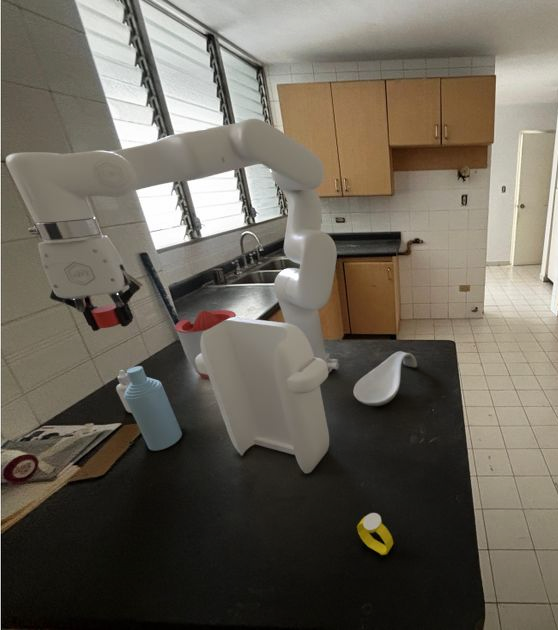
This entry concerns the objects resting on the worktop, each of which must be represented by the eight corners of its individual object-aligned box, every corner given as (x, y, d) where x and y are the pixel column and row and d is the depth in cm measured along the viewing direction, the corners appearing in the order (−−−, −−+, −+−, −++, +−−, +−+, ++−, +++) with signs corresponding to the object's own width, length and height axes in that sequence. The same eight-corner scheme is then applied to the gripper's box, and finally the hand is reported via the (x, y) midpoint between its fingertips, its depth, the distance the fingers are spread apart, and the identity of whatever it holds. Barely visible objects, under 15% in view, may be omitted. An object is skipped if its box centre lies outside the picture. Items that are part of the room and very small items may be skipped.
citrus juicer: (231, 351, 116) (215, 296, 108) (258, 364, 106) (243, 306, 98) (181, 372, 104) (159, 313, 96) (207, 389, 95) (184, 325, 87)
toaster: (355, 442, 74) (336, 317, 62) (326, 483, 64) (297, 345, 52) (257, 418, 82) (224, 305, 70) (219, 452, 72) (173, 327, 61)
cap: (98, 323, 65) (91, 308, 64) (124, 317, 68) (117, 303, 66) (97, 330, 62) (90, 314, 61) (124, 324, 65) (117, 309, 63)
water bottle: (188, 431, 79) (160, 362, 72) (165, 451, 73) (132, 378, 66) (165, 429, 80) (135, 360, 73) (141, 449, 74) (105, 377, 67)
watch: (397, 548, 52) (394, 523, 50) (386, 565, 50) (383, 539, 48) (367, 530, 55) (363, 505, 53) (356, 545, 53) (351, 519, 51)
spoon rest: (384, 418, 80) (382, 394, 77) (345, 406, 85) (341, 382, 82) (427, 369, 99) (426, 348, 97) (393, 361, 104) (391, 341, 102)
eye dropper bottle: (132, 418, 84) (113, 378, 80) (125, 410, 88) (106, 371, 83) (152, 408, 88) (135, 369, 83) (145, 401, 91) (128, 363, 86)
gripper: (-9, 239, 53) (47, 342, 60) (118, 229, 57) (156, 325, 65) (25, 232, 59) (72, 326, 66) (136, 224, 64) (169, 312, 71)
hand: (113, 325), depth 65 cm, fingers closed on cap, 3 cm apart
